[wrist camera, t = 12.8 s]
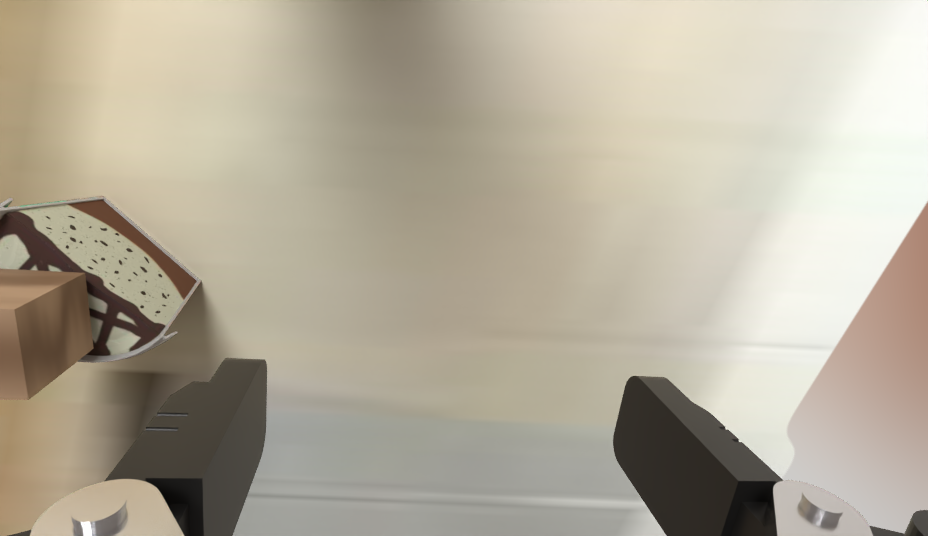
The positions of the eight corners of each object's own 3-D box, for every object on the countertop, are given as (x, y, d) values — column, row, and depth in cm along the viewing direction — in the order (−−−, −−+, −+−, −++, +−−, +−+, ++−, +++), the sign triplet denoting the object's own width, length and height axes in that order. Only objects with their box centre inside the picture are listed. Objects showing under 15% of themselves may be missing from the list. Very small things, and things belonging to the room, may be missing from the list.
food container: (30, 234, 38) (-88, 273, 29) (86, 181, 38) (-16, 203, 28) (163, 340, 42) (98, 405, 32) (215, 293, 41) (165, 345, 32)
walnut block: (-10, 268, 29) (-107, 304, 23) (85, 272, 30) (14, 309, 24) (3, 345, 30) (-86, 398, 25) (93, 348, 31) (28, 399, 26)
